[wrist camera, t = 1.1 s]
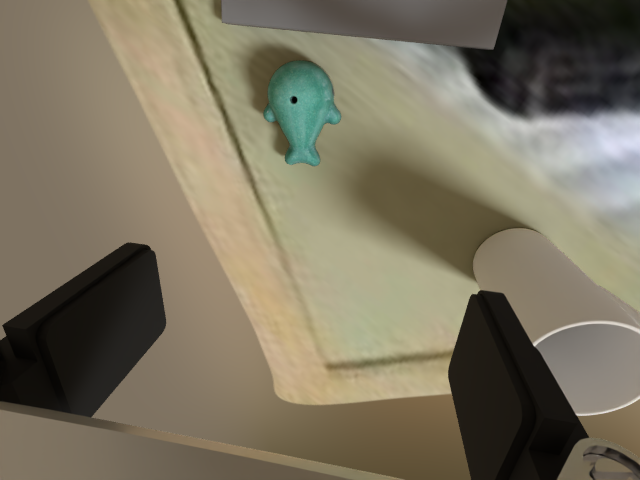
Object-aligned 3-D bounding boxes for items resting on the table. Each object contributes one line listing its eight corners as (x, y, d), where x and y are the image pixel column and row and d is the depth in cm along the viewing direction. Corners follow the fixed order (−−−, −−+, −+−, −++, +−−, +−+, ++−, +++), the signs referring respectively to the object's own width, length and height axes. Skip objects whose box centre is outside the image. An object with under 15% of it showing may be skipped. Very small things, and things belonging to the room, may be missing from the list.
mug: (458, 287, 31) (498, 401, 20) (482, 218, 28) (543, 309, 17) (578, 308, 30) (686, 439, 19) (616, 238, 27) (769, 348, 16)
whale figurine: (346, 62, 25) (340, 61, 22) (339, 164, 28) (333, 177, 25) (267, 59, 26) (249, 57, 22) (269, 159, 29) (254, 171, 26)
